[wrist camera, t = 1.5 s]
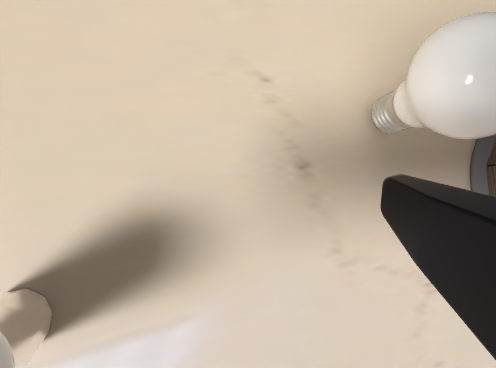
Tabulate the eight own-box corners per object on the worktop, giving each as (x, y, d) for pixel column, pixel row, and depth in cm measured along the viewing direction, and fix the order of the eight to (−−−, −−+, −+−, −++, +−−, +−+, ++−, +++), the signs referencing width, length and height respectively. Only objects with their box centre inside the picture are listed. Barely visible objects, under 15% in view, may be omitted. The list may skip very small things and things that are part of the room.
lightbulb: (328, 95, 26) (449, 11, 15) (395, 62, 28) (546, -34, 17) (368, 175, 26) (515, 146, 16) (433, 138, 28) (604, 89, 17)
